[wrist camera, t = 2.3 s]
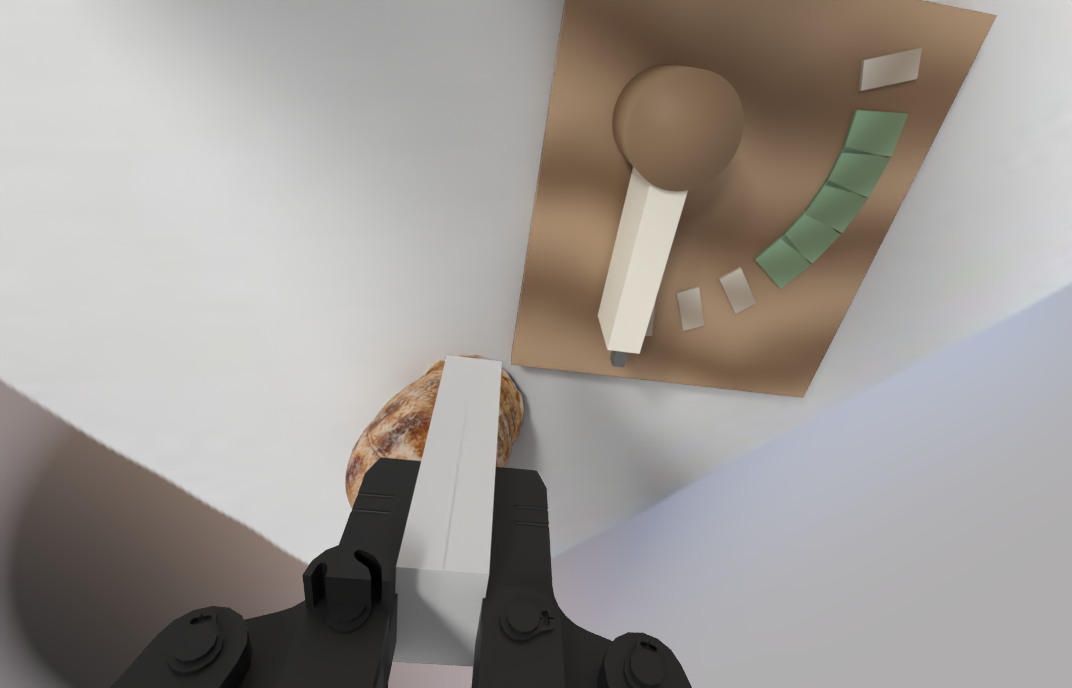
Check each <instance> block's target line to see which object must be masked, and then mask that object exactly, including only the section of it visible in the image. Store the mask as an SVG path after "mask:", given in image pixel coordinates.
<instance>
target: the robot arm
mask: <svg viewBox="0 0 1072 688" xmlns="http://www.w3.org/2000/svg"><path fill="white" fill-rule="evenodd" d="M501 368H502V361H494V360H486V359H477V358H468V357H460V356H451V355H447V356H446V360H445V364H444V369H443V373H442V377H441V381H440V385H439V389H438V394H437V398H436V402H435V406H434V410H433V415H432V419H431V423H430V427H429V431H428V435H427V440H426V444H425V448H424V452H423V456H422V460H421V461H415V460H405V459H394V458H384V457H380V458H379V459H378V460H377V461H376V462H375V463H374V464H373V465H372V467H371V468H370V469H369V470H368V471H367V472H366V473H365V475H364V477H363V480H362V483H361V486H360V488H359V491H358V496H357V497H356V499H355V502H354V505H353V508H352V512H351V513H350V516H349V519H348V521H347V524H346V527H345V530H344V532H343V535H342V538H341V541H340V543H339V545H338V546H335V547H333V548H330V549H328V550H325V551H324V552H323V553H322V554H320V555H319V556H318V557H316V558H315V559H314V560H313V561H312V562H311V563H310V565H309V566H308V568H307V569H306V571H305V572H304V574H303V583H304V592H305V601H303V602H301V603H299V604H297V605H296V606H294V607H292V608H289V609H286V610H283V611H280V612H276V613H272V614H267V615H263V616H259V617H255V618H250V619H246V620H244V619H243V617H242V615H240V614H239V613H237V612H235V611H234V610H232V609H230V608H225V607H216V606H211V607H206V608H202V609H198V610H193V611H191V612H189V613H187V614H185V615H183V616H182V617H180V618H178V619H176V620H174V621H173V622H172V623H171V624H169V625H168V626H167V627H166V628H165V629H164V630H162V631H161V632H160V633H159V634H158V635H157V636H156V637H155V638H154V639H153V640H152V642H151V643H150V644H149V645H148V646H147V647H146V648H145V649H144V651H143V652H142V653H141V654H140V655H139V656H138V657H137V658H136V660H135V661H134V662H133V663H132V664H131V665H130V666H129V667H128V669H127V670H126V671H125V672H124V673H123V674H122V675H121V676H120V677H119V679H118V680H117V681H116V682H115V683H114V684H113V685H112V687H111V688H388V680H389V675H390V670H391V666H392V661H393V662H405V663H422V664H440V665H457V666H473V678H472V688H692V687H691V685H690V683H689V681H688V679H687V676H686V674H685V672H684V670H683V668H682V666H681V664H680V663H679V661H678V660H677V658H676V657H675V655H674V654H673V652H672V651H671V650H670V649H669V648H668V647H667V646H666V645H664V644H663V643H662V642H661V641H659V640H658V639H657V638H654V637H652V636H649V635H647V634H644V633H630V632H628V633H626V634H624V635H622V636H619V637H617V638H615V640H614V641H611V640H608V639H606V638H603V637H601V636H599V635H596V634H594V633H591V632H589V631H587V630H585V629H583V628H581V627H579V626H577V625H576V624H574V623H573V622H572V621H571V620H570V619H568V618H567V617H566V616H565V614H564V613H563V612H562V610H561V609H560V608H559V606H558V604H557V602H556V600H555V597H554V593H553V587H552V574H551V555H550V538H549V527H548V524H549V521H548V511H547V509H548V504H547V488H546V486H545V485H544V483H543V481H542V479H541V477H540V476H539V474H538V472H537V471H535V470H524V469H514V468H503V467H496V452H497V435H498V418H499V402H500V385H501ZM393 656H394V657H393Z"/></svg>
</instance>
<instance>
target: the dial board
mask: <svg viewBox="0 0 1072 688" xmlns="http://www.w3.org/2000/svg"><path fill="white" fill-rule="evenodd" d="M996 16H997V15H992V14H987V13H982V12H977V11H972V10H967V9H962V8H957V7H952V6H947V5H942V4H937V3H932V2H927V1H922V0H565V2H564V8H563V15H562V22H561V28H560V35H559V41H558V48H557V55H556V61H555V68H554V75H553V81H552V88H551V95H550V101H549V108H548V115H547V121H546V128H545V134H544V141H543V148H542V154H541V161H540V168H539V174H538V181H537V188H536V194H535V201H534V208H533V214H532V221H531V227H530V234H529V241H528V247H527V254H526V261H525V267H524V274H523V281H522V287H521V294H520V301H519V307H518V314H517V320H516V327H515V334H514V340H513V347H512V354H511V365H519V366H528V367H537V368H546V369H555V370H564V371H573V372H581V373H590V374H599V375H608V376H617V377H626V378H634V379H643V380H652V381H661V382H670V383H679V384H687V385H696V386H705V387H714V388H723V389H732V390H741V391H749V392H758V393H767V394H776V395H785V396H794V397H802V398H803V397H804V395H805V393H806V391H807V389H808V387H809V385H810V383H811V381H812V379H813V377H814V375H815V373H816V371H817V369H818V367H819V365H820V363H821V361H822V359H823V358H824V356H825V354H826V352H827V350H828V348H829V346H830V344H831V342H832V340H833V338H834V336H835V334H836V332H837V330H838V328H839V326H840V324H841V322H842V320H843V318H844V316H845V314H846V312H847V310H848V308H849V306H850V304H851V302H852V300H853V298H854V296H855V294H856V292H857V290H858V289H859V287H860V285H861V283H862V281H863V279H864V277H865V275H866V273H867V271H868V269H869V267H870V265H871V263H872V261H873V259H874V257H875V255H876V253H877V251H878V249H879V247H880V245H881V243H882V241H883V239H884V237H885V235H886V233H887V231H888V229H889V227H890V225H891V223H892V221H893V220H894V218H895V216H896V214H897V212H898V210H899V208H900V206H901V204H902V202H903V200H904V198H905V196H906V194H907V192H908V190H909V188H910V186H911V184H912V182H913V180H914V178H915V176H916V174H917V172H918V170H919V168H920V166H921V164H922V162H923V160H924V158H925V156H926V154H927V152H928V151H929V149H930V147H931V145H932V143H933V141H934V139H935V137H936V135H937V133H938V131H939V129H940V127H941V125H942V123H943V121H944V119H945V117H946V115H947V113H948V111H949V109H950V107H951V105H952V103H953V101H954V99H955V97H956V95H957V93H958V91H959V89H960V87H961V85H962V83H963V82H964V80H965V78H966V76H967V74H968V72H969V70H970V68H971V66H972V64H973V62H974V60H975V58H976V56H977V54H978V52H979V50H980V48H981V46H982V44H983V42H984V40H985V38H986V36H987V34H988V32H989V30H990V28H991V26H992V24H993V22H994V20H995V18H996ZM661 64H674V65H681V66H687V67H693V68H699V69H705V70H709V71H712V72H714V73H716V74H719V75H720V76H722V77H723V78H725V79H726V80H727V81H728V82H729V83H730V84H731V85H732V87H733V88H734V89H735V91H736V93H737V94H738V96H739V99H740V101H741V104H742V108H743V116H744V127H743V134H742V138H741V142H740V144H739V147H738V149H737V151H736V153H735V155H734V157H733V159H732V160H731V162H730V163H729V164H728V166H727V167H726V168H725V169H724V170H723V171H722V172H721V173H720V174H719V175H718V176H717V177H716V178H714V179H713V180H712V181H710V182H708V183H707V184H705V185H703V186H701V187H698V188H695V189H692V190H688V192H687V195H686V199H685V202H684V206H683V209H682V212H681V216H680V219H679V222H678V226H677V229H676V233H675V236H674V239H673V243H672V246H671V249H670V253H669V256H668V260H667V263H666V266H665V270H664V273H663V276H662V280H661V283H660V287H659V290H658V293H657V297H656V300H655V303H654V307H653V310H652V314H651V317H650V320H649V324H648V327H647V331H646V334H645V337H644V341H643V344H642V347H641V351H640V354H637V353H629V352H628V355H627V359H626V362H625V366H624V367H615V366H612V364H611V360H610V355H611V351H612V350H607V347H606V343H605V340H604V336H603V333H602V329H601V326H600V322H599V319H598V312H599V308H600V304H601V299H602V295H603V291H604V287H605V283H606V278H607V274H608V270H609V266H610V262H611V257H612V253H613V249H614V245H615V241H616V236H617V232H618V228H619V224H620V220H621V215H622V211H623V207H624V203H625V199H626V194H627V190H628V186H629V182H630V178H631V173H632V169H633V166H632V165H631V163H630V162H629V161H628V160H627V159H626V158H625V157H624V156H623V154H622V153H621V152H620V150H619V148H618V146H617V144H616V142H615V139H614V135H613V128H612V119H613V112H614V108H615V104H616V102H617V99H618V97H619V95H620V94H621V92H622V90H623V89H624V87H625V86H626V85H627V84H628V82H629V81H630V80H631V79H632V78H634V77H635V76H636V75H637V74H639V73H640V72H642V71H643V70H645V69H647V68H650V67H653V66H656V65H661Z"/></svg>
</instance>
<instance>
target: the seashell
mask: <svg viewBox="0 0 1072 688" xmlns="http://www.w3.org/2000/svg"><path fill="white" fill-rule="evenodd" d="M459 356H460V357H468V358H477V359H485V358H483V357H480V356H478V355H466V356H464V355H459ZM486 360H488V359H486ZM444 364H445V360H442V361H439V362H437V363H436V364H434V365H433V366H432V367H431V368H430V369H429V370H428V372H427V373H426V374H425V375H424V376H422V377H421V378H420V379H419V380H417V381H416V382H414V383H412V384H411V385H409V386H407V387H406V388H404V389H403V390H402V391H401V392H399V393H398V394H397V395H396V396H395V397H393V398H392V399H391V400H390V401H389V402H388V403H387V404H386V405H385V406H384V407H383V408H382V409H381V411H380V412H379V413H378V415H377V416H376V417H375V418H374V420H373V421H372V422H371V423H370V424H369V425H368V426H367V428H366V429H365V430H364V431H363V433H362V435H361V437H360V438H359V440H358V442H357V443H356V445H355V446H354V448H353V451H352V454H351V457H350V460H349V463H348V466H347V471H346V494H347V497H348V500H349V503H350V506H351V508H353V505H354V502H355V499H356V497H357V496H358V491H359V488H360V486H361V483H362V480H363V477H364V475H365V473H366V472H367V471H368V470H369V469H370V468H371V467H372V465H373V464H374V463H375V462H376V461H377V460H378V459H379V458H380V457H384V458H394V459H405V460H415V461H421V460H422V456H423V452H424V448H425V444H426V440H427V435H428V431H429V427H430V423H431V419H432V415H433V410H434V406H435V402H436V398H437V394H438V389H439V385H440V381H441V377H442V373H443V369H444ZM523 414H524V405H523V402H522V395H521V393H520V391H518V390H517V388H516V386H515V383H514V382H512V380H511V378H510V376H509V375H508V373H507V372H506V371H505V370H503V369H502V368H501V385H500V402H499V418H498V435H497V452H496V467H504V466H505V464H506V463H507V460H508V458H509V456H510V453H511V449H512V445H513V441H514V440H515V439H516V438H518V435H519V431H520V427H521V424H522V419H523Z"/></svg>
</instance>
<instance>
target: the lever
mask: <svg viewBox="0 0 1072 688" xmlns="http://www.w3.org/2000/svg"><path fill="white" fill-rule="evenodd" d="M743 127H744V116H743V108H742V104H741V101H740V99H739V96H738V94H737V93H736V91H735V89H734V88H733V87H732V85H731V84H730V83H729V82H728V81H727V80H726V79H725V78H723V77H722V76H720V75H719V74H716V73H714V72H712V71H709V70H705V69H699V68H693V67H687V66H681V65H674V64H661V65H656V66H653V67H650V68H647V69H645V70H643V71H642V72H640V73H639V74H637V75H636V76H635V77H634V78H632V79H631V80H630V81H629V82H628V84H627V85H626V86H625V87H624V89H623V90H622V92H621V94H620V95H619V97H618V99H617V102H616V104H615V108H614V112H613V119H612V128H613V135H614V139H615V142H616V144H617V146H618V148H619V150H620V152H621V153H622V154H623V156H624V157H625V158H626V159H627V160H628V161H629V162H630V163H631V165H632V166H633V169H632V173H631V178H630V182H629V186H628V190H627V194H626V199H625V203H624V207H623V211H622V215H621V220H620V224H619V228H618V232H617V236H616V241H615V245H614V249H613V253H612V257H611V262H610V266H609V270H608V274H607V278H606V283H605V287H604V291H603V295H602V299H601V304H600V308H599V312H598V319H599V322H600V326H601V329H602V333H603V336H604V340H605V343H606V347H607V350H612V351H611V355H610V360H611V364H612V366H615V367H624V366H625V362H626V359H627V355H628V352H629V353H637V354H640V351H641V347H642V344H643V341H644V337H645V334H646V331H647V327H648V324H649V320H650V317H651V314H652V310H653V307H654V303H655V300H656V297H657V293H658V290H659V287H660V283H661V280H662V276H663V273H664V270H665V266H666V263H667V260H668V256H669V253H670V249H671V246H672V243H673V239H674V236H675V233H676V229H677V226H678V222H679V219H680V216H681V212H682V209H683V206H684V202H685V199H686V195H687V192H688V190H692V189H695V188H698V187H701V186H703V185H705V184H707V183H708V182H710V181H712V180H713V179H714V178H716V177H717V176H718V175H719V174H720V173H721V172H722V171H723V170H724V169H725V168H726V167H727V166H728V164H729V163H730V162H731V160H732V159H733V157H734V155H735V153H736V151H737V149H738V147H739V144H740V142H741V138H742V134H743Z"/></svg>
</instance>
